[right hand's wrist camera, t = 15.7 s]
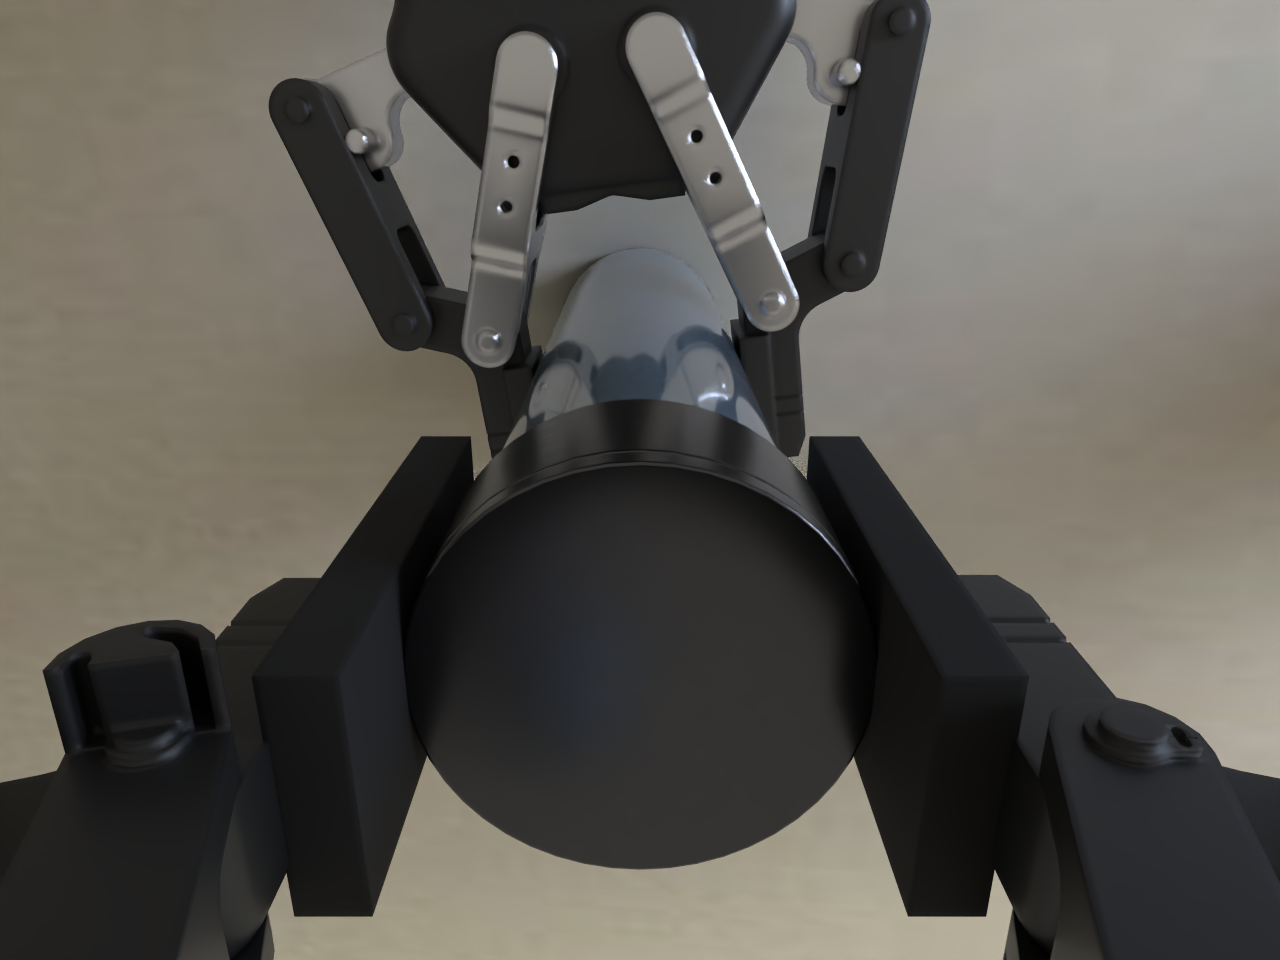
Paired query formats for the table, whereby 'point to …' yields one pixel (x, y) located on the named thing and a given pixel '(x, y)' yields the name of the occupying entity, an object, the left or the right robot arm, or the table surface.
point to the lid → (640, 640)
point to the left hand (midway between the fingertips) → (652, 483)
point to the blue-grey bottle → (640, 345)
